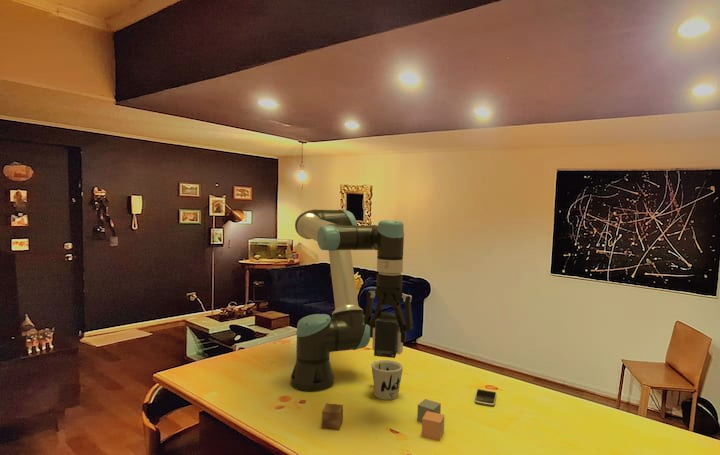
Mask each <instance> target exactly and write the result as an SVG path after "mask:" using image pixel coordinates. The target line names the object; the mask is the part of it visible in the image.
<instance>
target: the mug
mask: <svg viewBox="0 0 720 455" xmlns="http://www.w3.org/2000/svg"><path fill="white" fill-rule="evenodd" d="M403 366H404V365H403V364H402V363H400V362H398V361H395V360H389V359H387V360H386V359H382V360H377V361H374V362H372V364H371V374H372V381H373V389H374V395H375V397H376V398H378V399H381V400H387V401H389V400H394V399H396V398H397V397H398V396H399V392H400V387H401V386H400V385H401V380H402V374H403V369H404V367H403Z"/></svg>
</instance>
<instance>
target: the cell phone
mask: <svg viewBox="0 0 720 455" xmlns="http://www.w3.org/2000/svg"><path fill="white" fill-rule="evenodd" d="M475 393H476V394H475V397H474V404H476V405H481V406H485V407H490V408H491V407H493V408H494V406H495V404H496V397H497V391H491V390H487V389H486V390H485V389H480V388H477V390H476V392H475Z"/></svg>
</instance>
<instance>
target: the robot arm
mask: <svg viewBox="0 0 720 455" xmlns="http://www.w3.org/2000/svg"><path fill="white" fill-rule="evenodd" d="M294 227H295V228H294V229H295V231H296V233H297V234H298V235H299V236H300V237H301V238H303V239H305V240H313V241H316V242H317V245H318V248H319V249H320V250H321V251H328V256H329V257H328V258H329V265H330V273H331V275H330V276H331V283H332V291H333V300H334V310H333V312H332V313H331V316H330V315H329V314H327V313H326V314H325V313H321V314H320V313H315V314H309V315H306V316H304V317H302V318H300V319H299V320H298V322H297V326H296V331H295V332H296V333H295V335H296V346H295V347H296V350H295V351H296V352H295V353H296V354H295V355H296V358H295V364H294V367H293V369H292V373H291V375H290V385H291V386H292V387H293V388H294V389H296V388H297V389H296V390H298V389H299V390H298V391H302V390H304V391H303V392H318V391H319V392H320V391H325V390H327V389H329V388H331V387H332V386H334V384H335V374H334V371H333V369H332V364H331V362H330V360H331V359H330V354H331V353H333V352H344V351H357V350H359V349H360V350H361V349H365V348H366V347H367V346H368V345H369V343H370V340H371V339H372V345H371V346H372V351H374V347H375V320H376V319H377V318H378V316H379V315H380V314H381V312H383V310H384V309H383V308H384V306H389V307H392V309H393V311H394V314H395V315H396V318H397V320H398V324H399V327H400V331H398V346H397V354H396V355H401V354H402V353H403V351H404V350H403V349H404V343H406V342H407V332H408V331H409V332H410V331H411V330H412V329H413V328H414V324H413V322H414V321H413V311H412V300H413V295H412V294H405V293H404V291H403V274H402V273H403V269H404V243H405V242H404V240H405V239H404V238H405V231H404V230H405V229H404V228H405V227H404V223H403V221H401V220H388V219H387V220H385V219H383V220H379V222H378V225H376V224H374V225H373V224H369V225H358V224H357V220H356V217H355V215H354V213H352V212H351V211H349V210H343V209H309V210H306V211H304V212H302V213H300V214H299V215H298V216H297V218H296V220H295V222H294ZM352 251H376V252H377V253H376V254H377V256H376V259H377V260H376V271H377V272H378V273H377V274H376V283H375V284H376V288H375V290H369V291H366V293H365V295H366V305H365V313H364V309H363V308H361V307H360V306H359V302H358V294H357V288H356V287H357V286H356V280H355V272H354V265H353V257H352ZM376 297H377V300H378V301H377V304H376V308H375V310H374V313H373V308H374V302H375V298H376ZM402 299H403V302H404V314H403V311H402V309H401V303H400V300H402ZM372 315H373V316H372ZM404 315H405V317H404Z"/></svg>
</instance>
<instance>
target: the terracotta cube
mask: <svg viewBox="0 0 720 455" xmlns="http://www.w3.org/2000/svg"><path fill="white" fill-rule="evenodd" d="M444 433H445V414H442V413H440V414H438V413H434V412H429V411H427V412H426V413H425V415H424V417H423V418H422V423H421V437H423V438H426V439H430V440H434V441H438V442H440V441H441V439H442V437H443V435H444Z"/></svg>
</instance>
